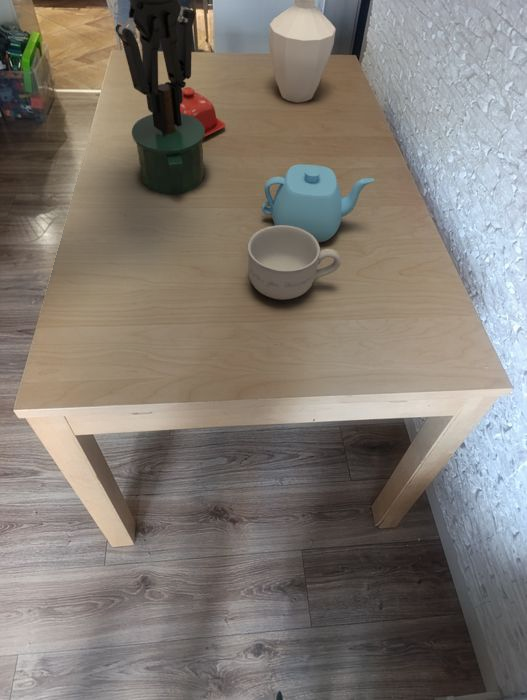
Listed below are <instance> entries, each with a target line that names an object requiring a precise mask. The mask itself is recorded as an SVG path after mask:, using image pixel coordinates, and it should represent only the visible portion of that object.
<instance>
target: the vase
mask: <svg viewBox="0 0 527 700" xmlns="http://www.w3.org/2000/svg"><path fill="white" fill-rule="evenodd" d="M316 3H317V0H294V4H292V5H291V6H289V7H288V8H287V9H285V10H284V11H283V12H281V13H280V14H278V15H276V16H275V17H274V18H273V19H272V20H271V22H270V23H269V29H268V30H269V31H268V45H269V55H270V59H271V64H272V69H273V74H274V79H275V83H276V84H277V87H278V90H279V93H280V96H281V98H283V99H284V100H286V101H289V102H293V103H296V104H297V103H305V102H307V101H310V100H312V99H313V97H314V95H315V94H316V92H317V89H318V87H319V84H320V82H321V80H322V77H323V74H324V72H325V70H326V67H327V65H328V62H329V60H330V57H331V54H332V50H333V48H334V43H335V36H336V30H337V28H336V27H335V26H334V25H333V23H332V22H331V21H330V20H329V19H328V17H326V16H325V14H324V13H323V12H322V11H321V10H320V9H319V8H318V7H317V6H316Z"/></svg>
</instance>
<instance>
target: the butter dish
mask: <svg viewBox="0 0 527 700" xmlns="http://www.w3.org/2000/svg"><path fill="white" fill-rule="evenodd" d="M182 98H183V101H182V103H181V104H180V112H181V113H182V114H186V115H190V116H192V117H194V118H196V119H197V120H199V121H200V122H201V123H202V124H203V126H204V129H205V136H204V138H205V137H207V136H210V135H212V134H214V133H216V132H218V131H220V130H222V129H224V128H225V127H226V123H225V122H224V121H222V120H221V119H219V118H218V117H217V115H216V110H215V106H214V105H213V103H212V102H211V101H210V100H209V99H208V98H206V97H205V96H204V95H202V94H200V93H199V92H196V90H195V89H194V88H193V87H190V86H185V87H184V88H182Z"/></svg>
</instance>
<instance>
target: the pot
mask: <svg viewBox="0 0 527 700" xmlns="http://www.w3.org/2000/svg"><path fill="white" fill-rule="evenodd" d="M136 148H137V155H138V161H139V166H140V173H141V179H142V182H143V183H144V184H145V186H147V188H149V189H151V190H153V191H155V192H158V193H162V194H170V195H171V194H175V195H176V194H183V193H187V192H189V191H191V190H193V189H195V188H197V187H198V186H199V185H200V184H201V183H202V181H203V180H204V174H205V172H204V171H205V170H204V169H205V168H204V154H203V153H204V150H203V141H202V142H201V143H200V144H199V145H197V146H196V147H194V148H192V149H190V150H187V151H183V152H179V153H157V152H152V151H149V150H146V149H144V148H142V147H140V146H139V145H138V144H136Z"/></svg>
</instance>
